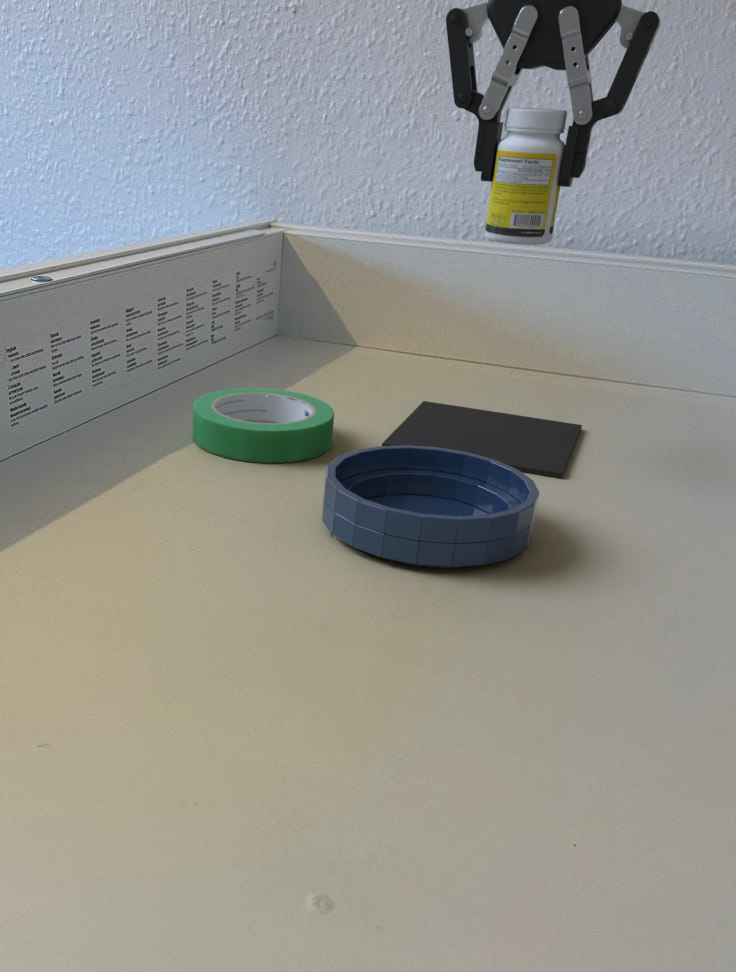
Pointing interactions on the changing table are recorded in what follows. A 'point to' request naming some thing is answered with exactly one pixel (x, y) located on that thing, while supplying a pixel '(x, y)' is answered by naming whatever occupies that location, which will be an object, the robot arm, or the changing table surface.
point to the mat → (491, 436)
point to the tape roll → (262, 425)
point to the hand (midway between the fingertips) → (525, 182)
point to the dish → (429, 505)
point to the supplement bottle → (526, 177)
